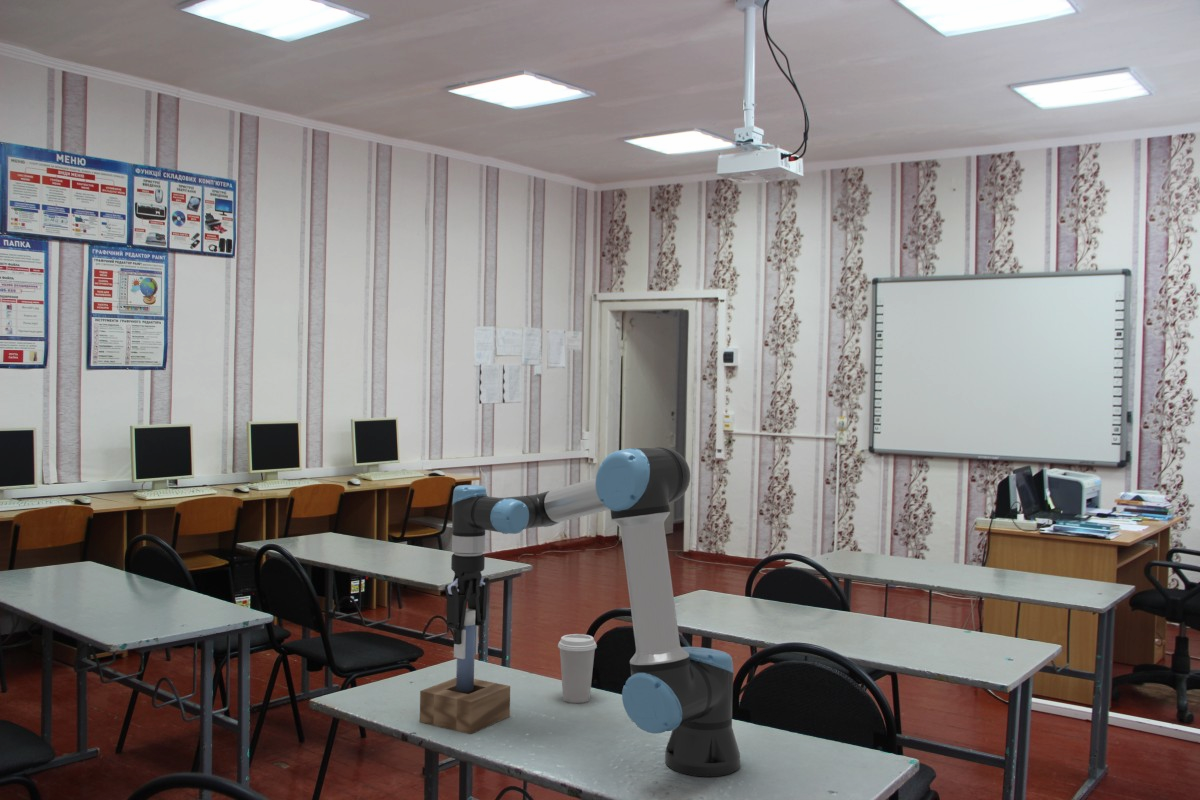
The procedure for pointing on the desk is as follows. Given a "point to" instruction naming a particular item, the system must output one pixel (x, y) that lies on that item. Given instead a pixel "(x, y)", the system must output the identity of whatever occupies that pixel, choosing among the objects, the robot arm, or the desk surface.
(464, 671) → the marker
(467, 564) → the robot arm
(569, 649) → the coffee cup
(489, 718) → the socket block
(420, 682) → the desk surface
